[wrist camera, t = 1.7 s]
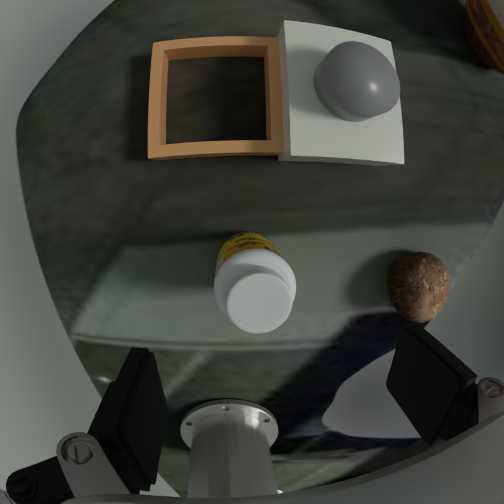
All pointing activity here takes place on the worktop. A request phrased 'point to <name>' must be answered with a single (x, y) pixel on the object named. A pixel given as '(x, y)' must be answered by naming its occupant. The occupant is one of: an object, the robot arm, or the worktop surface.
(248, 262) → the supplement bottle
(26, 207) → the worktop surface
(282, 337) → the worktop surface
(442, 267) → the mushroom
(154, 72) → the open box with knob
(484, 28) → the jug
